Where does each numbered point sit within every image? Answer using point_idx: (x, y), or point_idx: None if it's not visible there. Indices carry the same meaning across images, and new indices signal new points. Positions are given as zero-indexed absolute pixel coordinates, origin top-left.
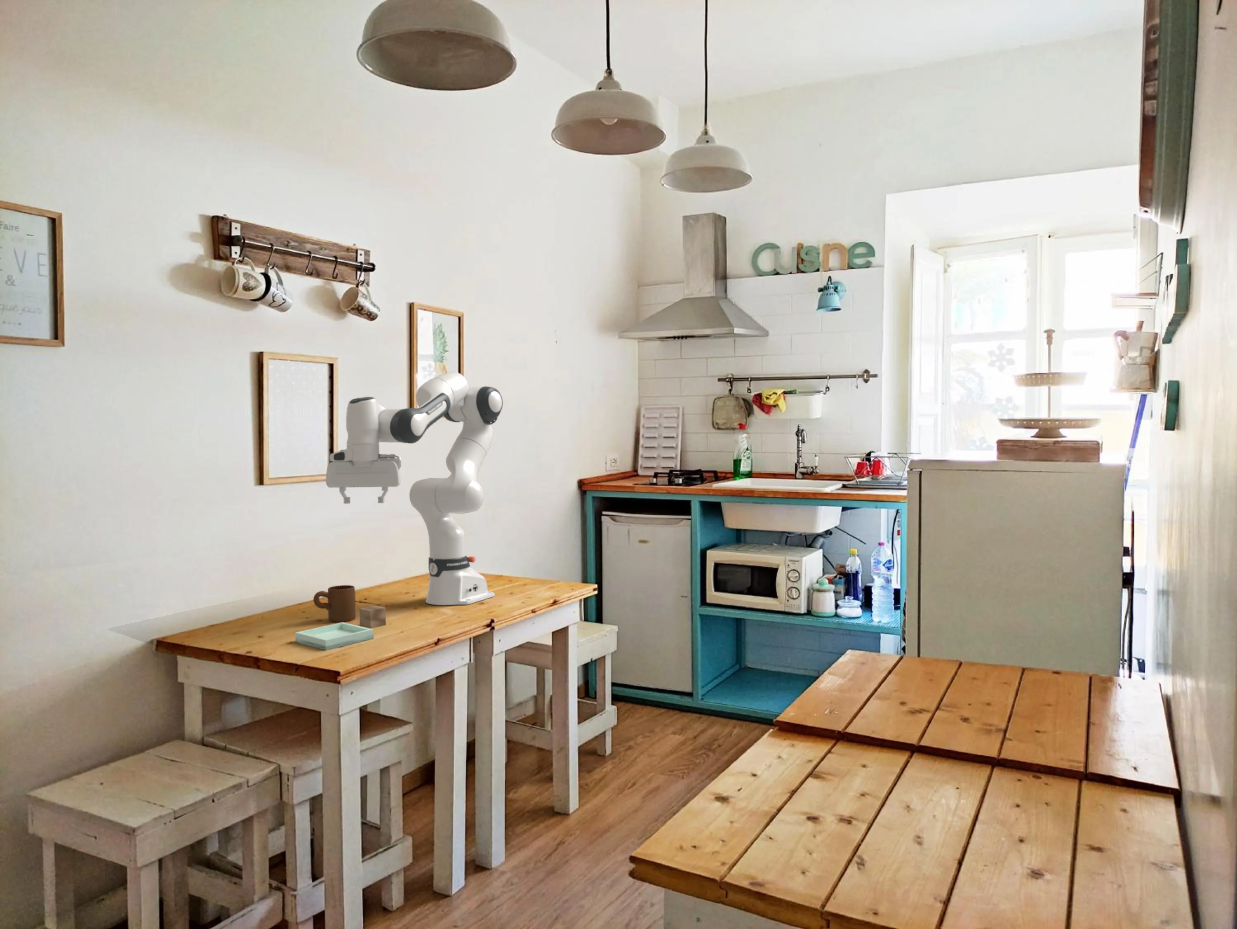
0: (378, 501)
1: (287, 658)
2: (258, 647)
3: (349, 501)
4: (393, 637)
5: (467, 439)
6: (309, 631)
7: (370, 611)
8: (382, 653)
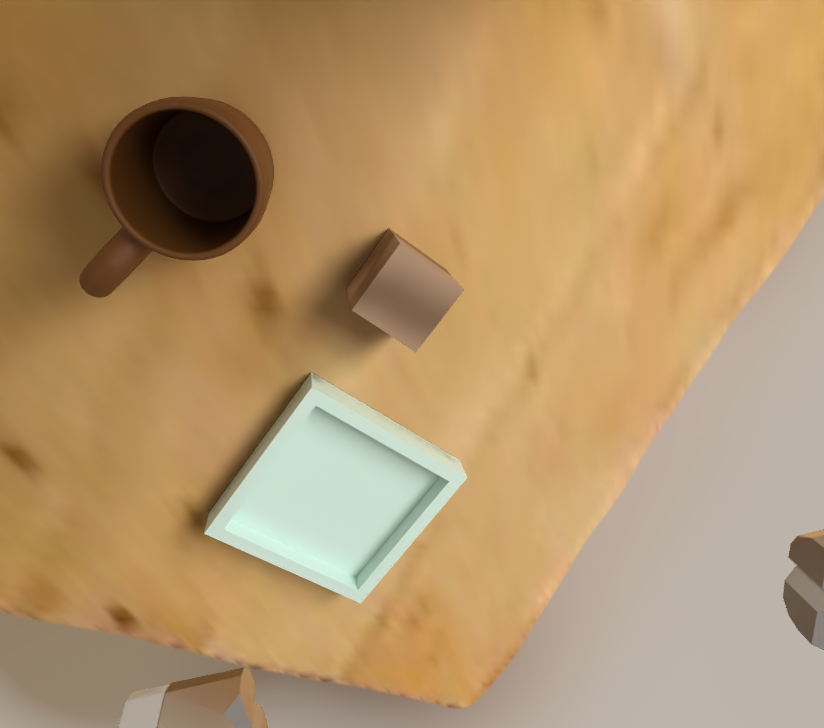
0: (811, 634)
1: (282, 652)
2: (117, 574)
3: (248, 725)
4: (518, 439)
5: None
6: (241, 502)
7: (416, 350)
8: (525, 588)
